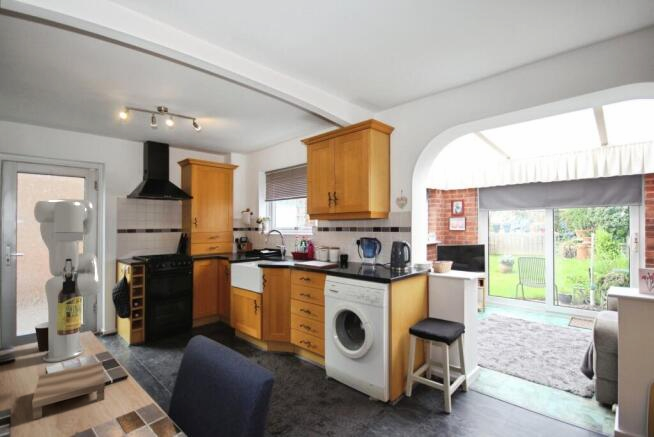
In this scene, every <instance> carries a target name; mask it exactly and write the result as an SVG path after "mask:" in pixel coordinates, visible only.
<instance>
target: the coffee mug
mask: <svg viewBox="0 0 654 437" xmlns="http://www.w3.org/2000/svg"><path fill="white" fill-rule="evenodd" d="M34 329H35V330H34V331H35V335H36V342H37V348H38V351H39V352H49V339H48V321H47V322H43V323H39V324H37V325H35V326H34Z"/></svg>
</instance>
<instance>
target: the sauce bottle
mask: <svg viewBox="0 0 654 437" xmlns="http://www.w3.org/2000/svg"><path fill="white" fill-rule="evenodd" d="M77 278H78V273H74V281H75V293H72V294H63V289H62V290H61V291H60V293H59V295H58V309H57V334H58V335H70V334H74V333H77V332H79V331H80V332H81V327H82V299H83V297H81V294H80V292H79V289H78V286H77V285H78V284H77Z"/></svg>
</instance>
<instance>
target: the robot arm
mask: <svg viewBox="0 0 654 437" xmlns="http://www.w3.org/2000/svg"><path fill="white" fill-rule="evenodd" d="M33 214H34V218H35V221H36V222H37V223H38V224H39V229H40V235H41V238H42V241H43V243H44V245H45V247H46V248H47V250H48V264H49V266H48V267H49V272H50V274H51V276H52V277H51V278H48V280H46V281H45V285H44V289H45V296H46V300H47V310H48V313H47V314H48V321H47V322H48V339H49V351H47V353H45V354H44V355H43V357H42V360H43V361H45V362H47V363H49V362H50V363H51V362H52V363H55V362H63V361H66V360H70V359H74V358H75V357H78V356H80V355H82V354H83V353H84V352H85V347H84V346H82V345H81V344H80V343H81V342H80V341H81V340H80V339H81V335H80V333H81V330H80V331H79V332H77V333H74V334H70V335H58V334H57V309H58V295H59V293H60V291H61V290H62V289H63V294H72V293H75V281H74V273H78V278H77V284H78V285H77V286H78V289H79V292H80V294H81V297H82V298H85V297H87V298H88V297H92V296H96V295H98V294H99V293H100V292H101V290H102V280H101V272H100V267H99V261H98V257H97V256H96V254H94V253H92V252H83V253H82V252H81V253H80V252H79V251H80V248H79V247H80V246H79V244H80V243H83V242H84V236H87V235H89V234H91V232H92V230H93V224H94V217H95V208H94V204H93V203H92V202H91V201H90V200H88V199H70V198H68V199H66V198H61V199H60V198H59V199H54V200H53V199H51V200H37V202H36V203H35V205H34V209H33Z"/></svg>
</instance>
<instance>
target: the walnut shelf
mask: <svg viewBox="0 0 654 437" xmlns="http://www.w3.org/2000/svg"><path fill="white" fill-rule="evenodd" d="M105 389H106V382H105V374H104V366H103V361H97V362H92V363H89V364H85V365H80V366H76V367H70V368H66V369H63V370H62V369H61V370H57V371H52V372H49V373H48V372H47V373H44V374H39V376H38V380H37V383H36V387H35V390H34V395H33V396H32V398H33V399H32V402H31V403H32V404H31V405H32V406H31V408H32V420H39V419H41V418H43V406H47V405H50V404H54V403H57V402H61V401H64V400H68V399H72V398H76V397H79V396H83V395H87V394H91V393H94V392H96V402H100V401H103V400H105Z"/></svg>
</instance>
